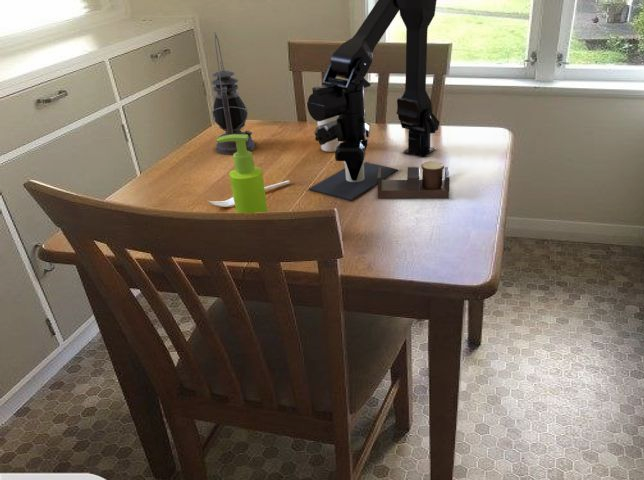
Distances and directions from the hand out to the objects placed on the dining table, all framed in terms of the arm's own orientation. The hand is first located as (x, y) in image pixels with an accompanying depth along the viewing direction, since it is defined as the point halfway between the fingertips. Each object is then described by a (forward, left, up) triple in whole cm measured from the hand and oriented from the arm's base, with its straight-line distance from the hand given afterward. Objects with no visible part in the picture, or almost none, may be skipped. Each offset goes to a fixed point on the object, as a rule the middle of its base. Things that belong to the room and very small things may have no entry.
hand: (355, 176), depth 126 cm
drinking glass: (-14, -18, -1) cm, 23 cm away
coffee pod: (0, 0, -1) cm, 1 cm away
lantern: (-2, -42, -1) cm, 42 cm away
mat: (0, 0, -1) cm, 1 cm away
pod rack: (-1, +16, -1) cm, 16 cm away
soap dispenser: (+32, -2, -1) cm, 32 cm away
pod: (-3, +19, +1) cm, 19 cm away
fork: (+19, -15, -1) cm, 24 cm away
